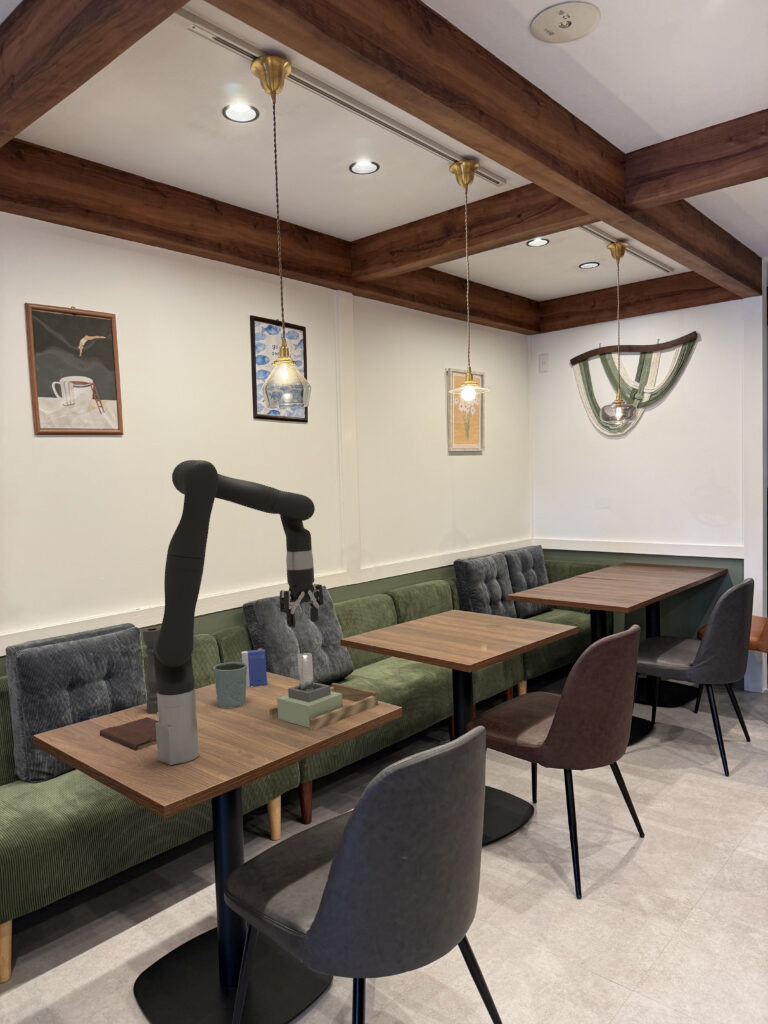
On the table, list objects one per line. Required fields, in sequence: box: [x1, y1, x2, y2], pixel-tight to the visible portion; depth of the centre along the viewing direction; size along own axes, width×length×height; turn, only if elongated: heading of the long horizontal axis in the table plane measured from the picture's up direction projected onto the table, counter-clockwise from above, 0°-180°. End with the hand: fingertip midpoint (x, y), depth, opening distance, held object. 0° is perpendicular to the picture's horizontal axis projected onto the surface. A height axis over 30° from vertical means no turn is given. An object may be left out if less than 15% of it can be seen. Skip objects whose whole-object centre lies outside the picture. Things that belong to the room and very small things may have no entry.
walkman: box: [241, 648, 268, 688], centre depth 246 cm, size 8×3×12 cm, turn 105°
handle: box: [297, 652, 314, 692], centre depth 206 cm, size 4×4×12 cm
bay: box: [268, 682, 379, 732], centre depth 211 cm, size 26×18×5 cm
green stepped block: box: [276, 682, 344, 729], centre depth 207 cm, size 13×13×8 cm
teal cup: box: [213, 661, 247, 709], centre depth 226 cm, size 10×10×12 cm
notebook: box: [99, 716, 159, 751], centre depth 203 cm, size 15×20×2 cm
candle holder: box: [142, 627, 161, 714], centre depth 223 cm, size 6×6×25 cm
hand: (303, 624), depth 205 cm, fingers open, 8 cm apart
